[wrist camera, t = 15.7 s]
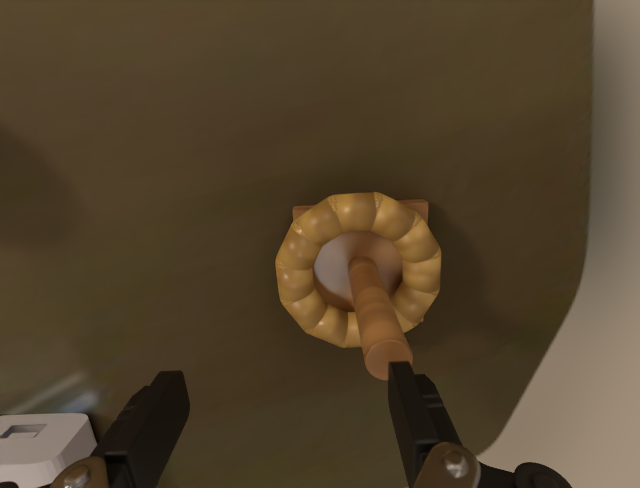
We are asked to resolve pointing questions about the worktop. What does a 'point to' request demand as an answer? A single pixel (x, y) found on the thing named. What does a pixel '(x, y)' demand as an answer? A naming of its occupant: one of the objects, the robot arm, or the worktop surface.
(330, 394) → the worktop surface
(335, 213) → the ring
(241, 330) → the worktop surface
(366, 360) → the wooden peg stand
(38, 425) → the charger
